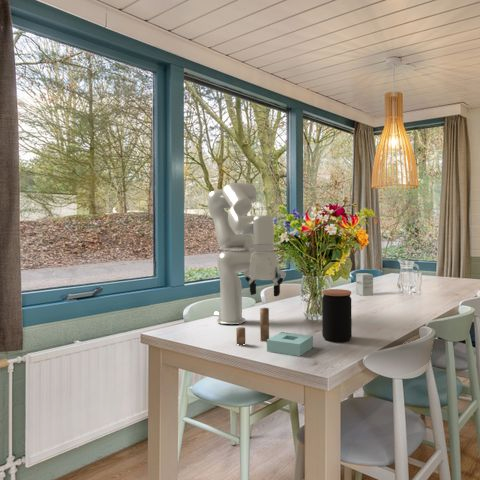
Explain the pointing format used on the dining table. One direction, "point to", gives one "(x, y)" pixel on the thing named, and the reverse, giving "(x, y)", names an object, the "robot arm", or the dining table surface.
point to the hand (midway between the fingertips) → (264, 295)
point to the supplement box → (364, 284)
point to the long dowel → (264, 323)
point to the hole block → (290, 343)
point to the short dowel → (240, 335)
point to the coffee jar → (336, 315)
